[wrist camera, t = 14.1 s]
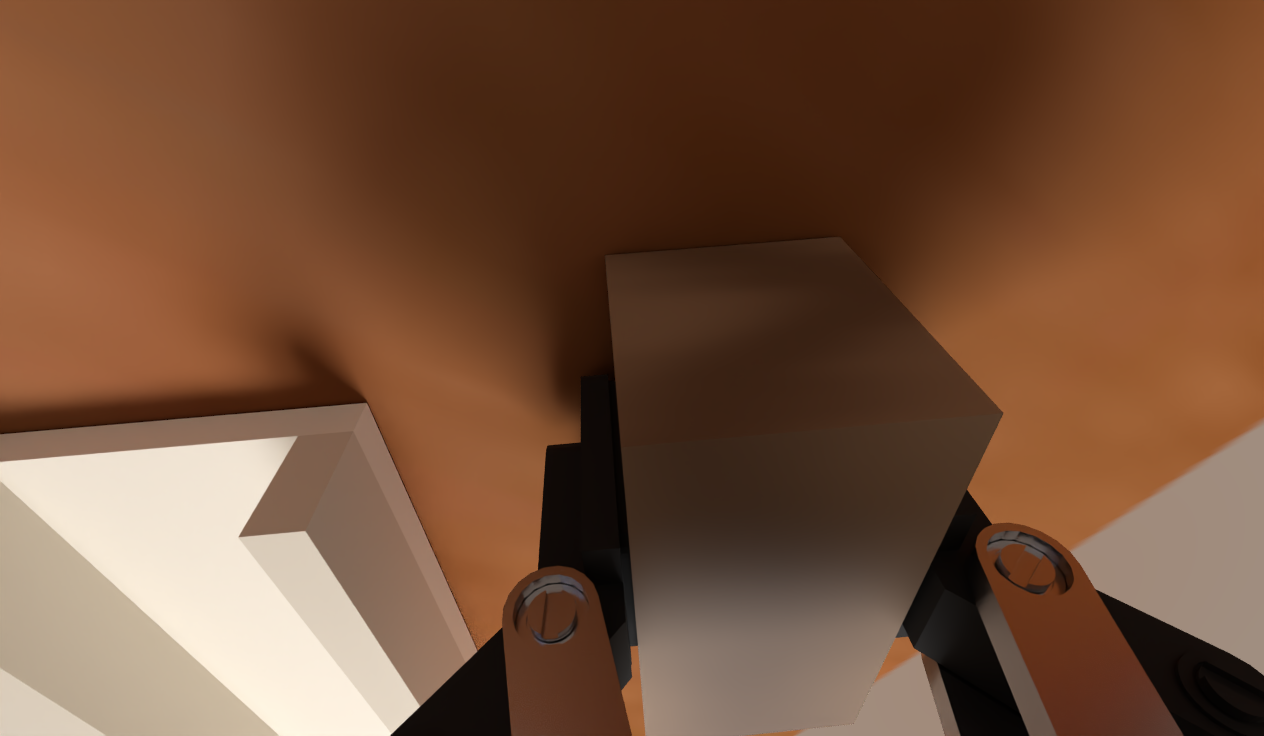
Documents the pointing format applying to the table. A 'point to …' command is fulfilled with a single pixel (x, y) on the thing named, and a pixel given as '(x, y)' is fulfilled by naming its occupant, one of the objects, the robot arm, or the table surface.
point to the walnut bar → (778, 477)
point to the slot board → (217, 580)
